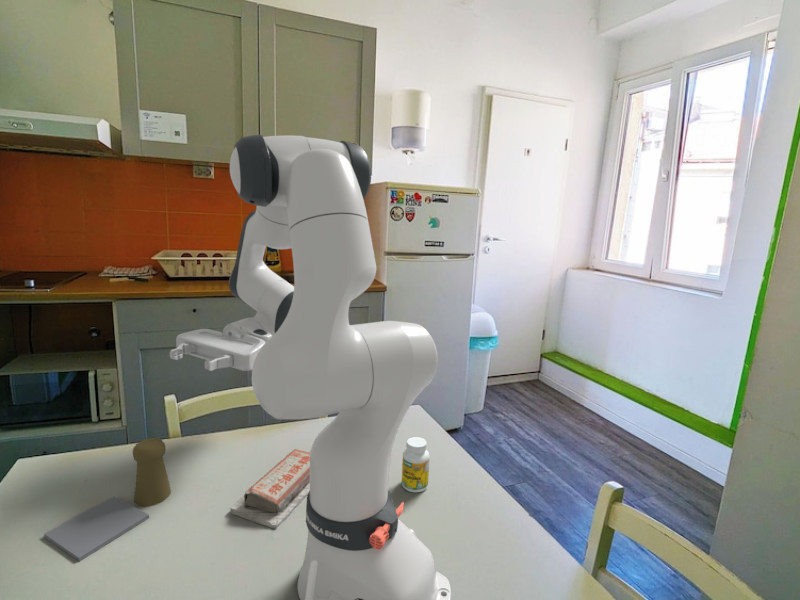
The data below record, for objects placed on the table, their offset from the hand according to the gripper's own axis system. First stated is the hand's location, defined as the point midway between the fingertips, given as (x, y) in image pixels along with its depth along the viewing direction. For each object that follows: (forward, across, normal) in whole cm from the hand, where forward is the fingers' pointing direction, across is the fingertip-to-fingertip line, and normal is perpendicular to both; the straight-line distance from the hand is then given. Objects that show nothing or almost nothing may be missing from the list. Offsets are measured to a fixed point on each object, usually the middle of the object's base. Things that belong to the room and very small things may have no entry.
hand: (189, 360), depth 84 cm
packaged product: (-2, +21, +24) cm, 32 cm away
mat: (+20, 0, +23) cm, 30 cm away
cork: (+10, +1, +24) cm, 26 cm away
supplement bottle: (-16, +43, +23) cm, 51 cm away
